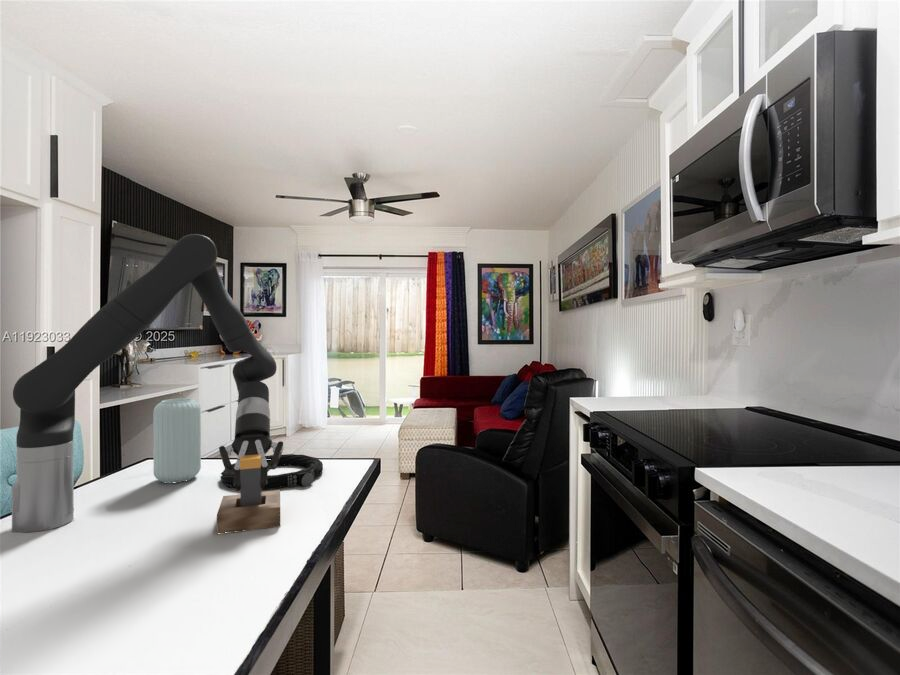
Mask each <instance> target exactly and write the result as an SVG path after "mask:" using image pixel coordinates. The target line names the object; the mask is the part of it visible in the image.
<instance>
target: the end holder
mask: <svg viewBox="0 0 900 675" xmlns="http://www.w3.org/2000/svg"><path fill="white" fill-rule="evenodd" d="M275 527H281V489H277V490H276V489H274V490H267V491H262V501H261V505H253V506H245V507H241V493H239V494H230V495H222V499H221V502H220V504H219V508H218V511H217V513H216V534H217V533H224V534H226V533H225V532H232V533H236V532H235V531H239V532H244V531H243V530H247V531H253V530H252V529H255V530H259V529H258V528H262V529H269V528H275Z"/></svg>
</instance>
